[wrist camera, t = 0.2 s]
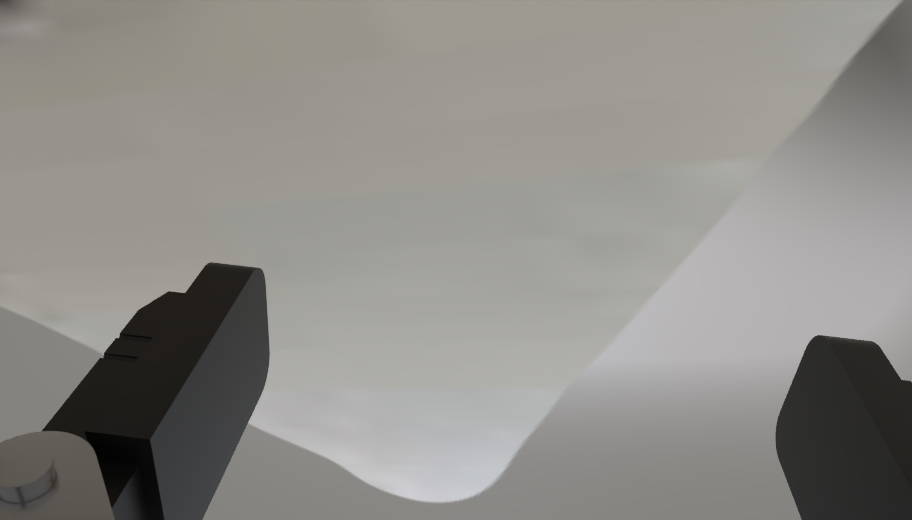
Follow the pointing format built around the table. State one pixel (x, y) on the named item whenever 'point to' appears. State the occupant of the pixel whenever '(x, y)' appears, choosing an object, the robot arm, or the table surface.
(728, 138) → the table surface
